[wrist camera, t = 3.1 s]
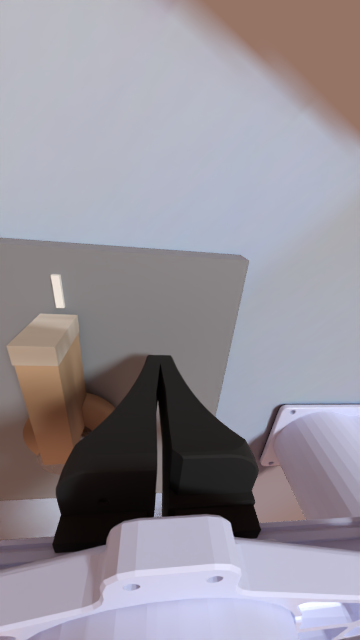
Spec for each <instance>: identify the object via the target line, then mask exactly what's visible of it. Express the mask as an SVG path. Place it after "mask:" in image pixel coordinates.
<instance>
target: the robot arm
mask: <svg viewBox="0 0 360 640" xmlns="http://www.w3.org/2000/svg"><path fill="white" fill-rule="evenodd" d="M157 404H158V406H159V416H160V426H161V436H162V517H154V510H155V496H156V482H157V419H156V413H157ZM260 463H261V465H262V466H281V467H282V469H283V471H284V474H285V476H286V478H287V480H288V482H289V484H290V486H291V489H292V491H293V493H294V495H295V497H296V499H297V501H298V504H299V506H300V508H301V510H302V512H303V514H304V517H305V519H306V520H298V521H283V522H268V523H259V521H258V518H257V515H256V512H255V509H254V504H255V500H254V496H253V494H252V488H253V486H254V483H255V481H256V478H257V476H258V466H257V463H256V461H255V458H254V456H253V454H252V452H251V450H250V448H249V446H248V444H247V442H246V440H245V439H243V438H242V437H240V436H239V435H238V434H236V433H235V432H233V431H232V430H231V429H229V428H228V427H227V426H225V425H224V424H223V423H222V422H220V421H219V420H218V419H217V418H216V417H215V416H214V415H213V414H212V413H211V412H210V411H208V410H207V408H206V407H205V406H204V405H203V404H202V403H201V402H200V401H199V400H198V398H197V397H196V396H195V395H194V393H193V392H192V391H191V389H190V388H189V387H188V385H187V384H186V382H185V381H184V379H183V377H182V376H181V374H180V372H179V371H178V369H177V367H176V365H175V362H174V360H173V357H172V356H171V355H148V356H147V357H146V361H145V364H144V366H143V368H142V370H141V372H140V374H139V376H138V378H137V380H136V381H135V383H134V384H133V386H132V388H131V389H130V391H129V392H128V393H127V395H126V396H125V397H124V399H123V400H122V401H121V402H120V404H119V405H118V406H117V407H116V408H115V409H114V410H113V412H112V413H111V414H110V415H109V416H108V417H107V418H106V419H105V420H104V421H103V422H101V423H100V424H99V425H98V426H97V427H96V428H95V429H94V430H93V431H92V432H90V433H89V434H88V435H87V436H85V437H84V438H83V439H82V440H80V441H79V442H78V443H77V444H75V446H74V448H73V450H72V451H71V453H70V455H69V457H68V459H67V461H66V463H65V465H64V467H63V469H62V472H61V475H60V477H59V480H58V483H57V486H56V498H57V502H58V505H59V509H60V512H61V517H60V520H59V524H58V527H57V530H56V533H55V537H41V538H26V539H11V540H0V640H360V404H355V405H283V406H282V407H281V408H280V409H279V412H278V414H277V417H276V420H275V422H274V425H273V427H272V430H271V433H270V435H269V438H268V440H267V443H266V446H265V448H264V451H263V453H262V456H261V459H260Z"/></svg>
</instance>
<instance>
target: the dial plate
mask: <svg viewBox="0 0 360 640" xmlns="http://www.w3.org/2000/svg"><path fill="white" fill-rule="evenodd" d="M248 264H249V260H247V259H246V258H244V257H243V256H241V255H232V254H219V253H205V252H191V251H177V250H163V249H149V248H135V247H121V246H107V245H93V244H79V243H65V242H51V241H37V240H23V239H9V238H0V501H1V500H22V499H43V498H56V486H57V483H58V480H59V477H60V475H56V474H52V473H49V472H47V471H46V470H44V469H43V468H42V467H41V466H40V465H39V463H38V460H37V458H38V456H37V455H36V454H34V453H33V452H32V451H31V450H30V449H29V448H28V446H27V445H26V443H25V441H24V438H23V428H24V425H25V423H26V422H27V420H28V418H29V414H28V411H27V407H26V404H25V400H24V397H23V394H22V390H21V387H20V383H19V380H18V377H17V373H16V370H15V366H14V365H12V363H11V360H10V356H9V353H8V350H7V345H8V344H9V343H10V342H11V341H12V340H13V339H14V338H15V337H16V336H17V335H18V334H19V333H20V332H21V331H22V330H23V329H24V328H26V327H27V326H28V325H29V324H30V323H31V322H32V321H33V320H34V319H35V318H36V317H37V316H38V315H39V314H66V315H78V323H79V341H80V348H81V356H82V364H83V372H84V380H85V387H86V393H90V394H94V395H97V396H99V397H101V398H103V399H105V400H106V401H108V402H109V403H110V404H112V405H113V406H114V407H115V408H116V407H117V406H118V405H119V404H120V402H121V401H122V400H123V399H124V397H125V396H126V395H127V393H128V392H129V391H130V389H131V388H132V386H133V384H134V383H135V381H136V380H137V378H138V376H139V374H140V372H141V370H142V368H143V366H144V364H145V361H146V357H147V356H148V355H171V356H172V357H173V360H174V362H175V365H176V367H177V369H178V371H179V372H180V374H181V376H182V377H183V379H184V381H185V382H186V384H187V385H188V387H189V388H190V389H191V391H192V392H193V393H194V395H195V396H196V397H197V398H198V400H199V401H200V402H201V403H202V404H203V405H204V406H205V407H206V408H207V410H208V411H210V412H211V413H212V414H213V415H214V416H216V411H217V407H218V402H219V397H220V393H221V388H222V384H223V379H224V374H225V370H226V365H227V361H228V356H229V351H230V347H231V342H232V338H233V333H234V328H235V324H236V319H237V315H238V310H239V305H240V301H241V296H242V292H243V287H244V282H245V278H246V273H247V269H248ZM156 419H157V482H156V493H162V436H161V426H160V416H159V406H158V404H157V413H156Z"/></svg>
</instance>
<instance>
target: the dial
mask: <svg viewBox="0 0 360 640" xmlns="http://www.w3.org/2000/svg"><path fill="white" fill-rule="evenodd" d="M7 350H8V353H9V356H10V360H11V363H12V365H14V366H15V370H16V373H17V377H18V380H19V383H20V387H21V390H22V394H23V397H24V400H25V404H26V407H27V411H28V414H29V418H28V420H27V422H26V423H25V425H24V428H23V438H24V441H25V443H26V445H27V446H28V448H29V449H30V450H31V451H32V452H33V453H34V454H36V455H37V456H38V458H37V460H38V463H39V465H40V466H41V467H42V468H43V469H44V470H46V471H47V472H49V473H52V474H56V475H61V472H62V469H63V467H64V465H65V463H66V461H67V459H68V457H69V455H70V453H71V451H72V450H73V448H74V446H75V444H77V443H78V442H79V441H80V440H82V439H83V438H84V437H85V436H87V435H88V434H89V433H90V432H92V431H93V430H94V429H95V428H96V427H97V426H98V425H99V424H100V423H101V422H103V421H104V420H105V419H106V418H107V417H108V416H109V415H110V414H111V413H112V412H113V410H114V409H115V407H114V406H113V405H112V404H110V403H109V402H108V401H106V400H105V399H103V398H101V397H99V396H97V395H94V394H90V393H86V387H85V380H84V372H83V364H82V356H81V348H80V341H79V323H78V315H66V314H39V315H38V316H37V317H36V318H35V319H34V320H33V321H32V322H31V323H30V324H29V325H28V326H27V327H26V328H24V329H23V330H22V331H21V332H20V333H19V334H18V335H17V336H16V337H15V338H14V339H13V340H12V341H11V342H10V343H9V344H8V345H7Z"/></svg>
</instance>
